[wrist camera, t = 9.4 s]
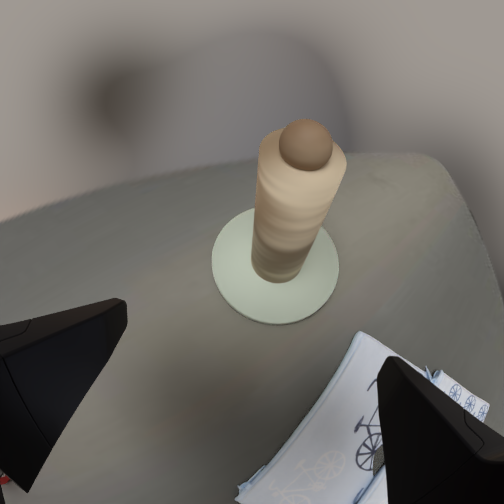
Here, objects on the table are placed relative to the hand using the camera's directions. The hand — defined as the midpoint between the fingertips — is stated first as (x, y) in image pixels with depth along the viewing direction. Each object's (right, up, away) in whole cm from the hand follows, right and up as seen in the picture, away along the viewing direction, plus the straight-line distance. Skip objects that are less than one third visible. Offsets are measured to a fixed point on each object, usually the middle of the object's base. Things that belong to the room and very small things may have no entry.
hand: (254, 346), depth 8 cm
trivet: (+2, +2, +16) cm, 16 cm away
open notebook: (+12, -15, +9) cm, 21 cm away
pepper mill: (+2, +2, +15) cm, 16 cm away
